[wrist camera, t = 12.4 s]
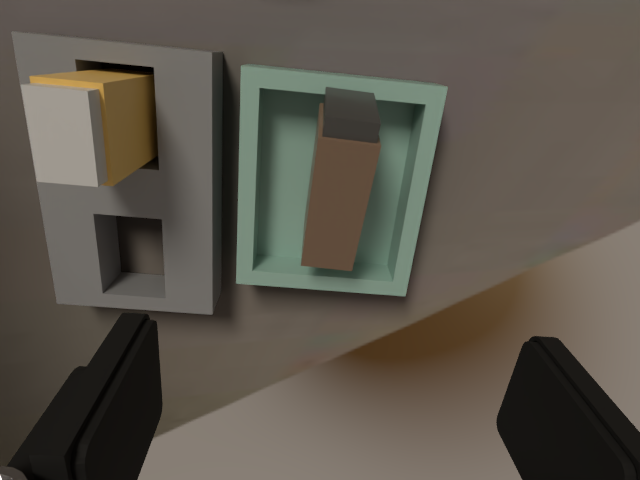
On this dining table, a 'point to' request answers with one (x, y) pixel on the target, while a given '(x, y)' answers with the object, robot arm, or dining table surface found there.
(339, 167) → the block
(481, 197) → the dining table surface
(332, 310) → the dining table surface
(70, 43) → the block
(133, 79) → the block
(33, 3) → the dining table surface
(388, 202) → the parts tray
